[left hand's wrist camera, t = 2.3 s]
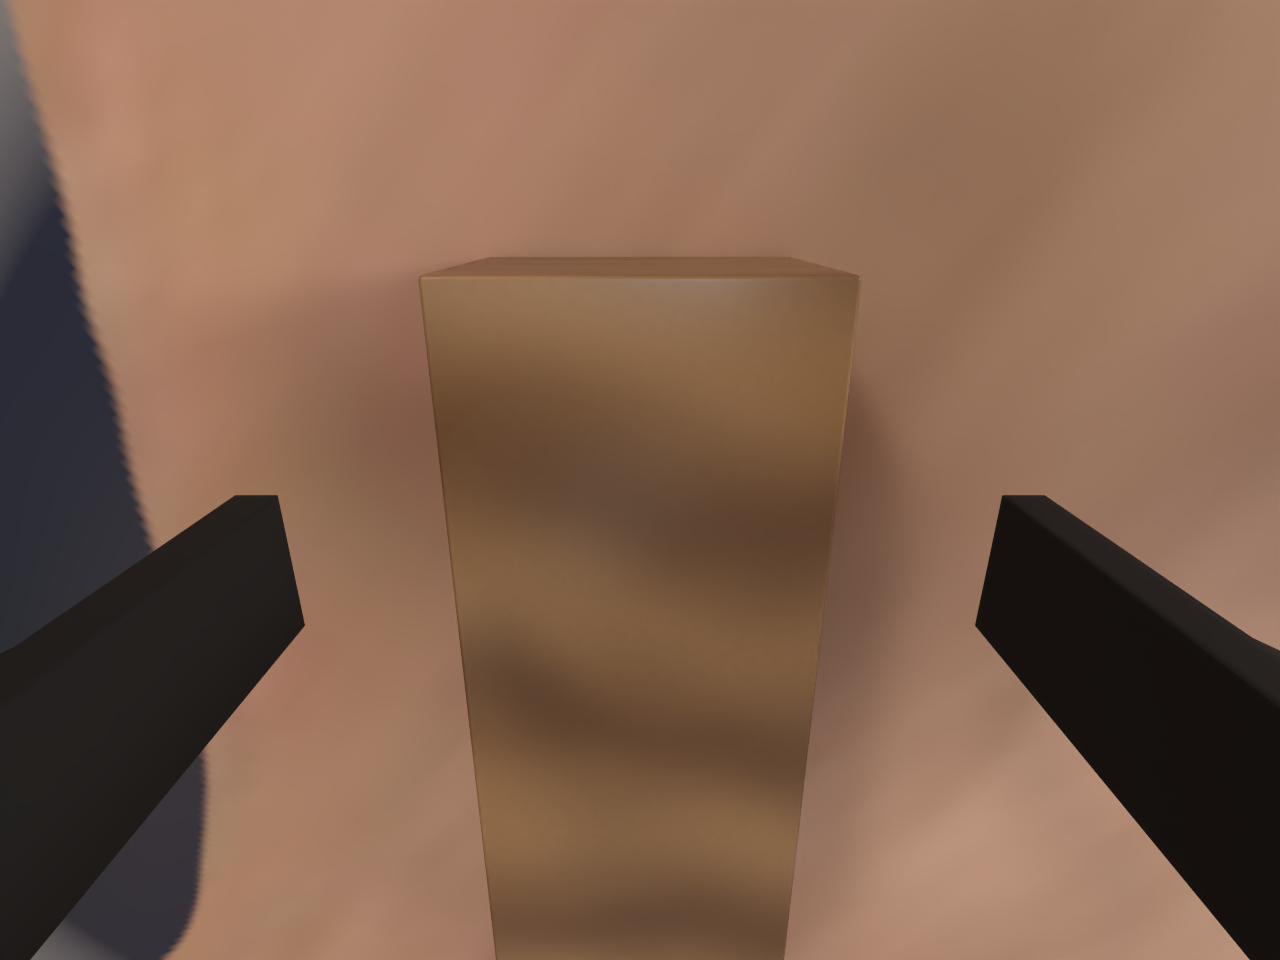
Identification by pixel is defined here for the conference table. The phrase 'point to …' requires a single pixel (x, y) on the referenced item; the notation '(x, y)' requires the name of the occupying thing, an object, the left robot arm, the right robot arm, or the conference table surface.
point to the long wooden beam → (640, 584)
